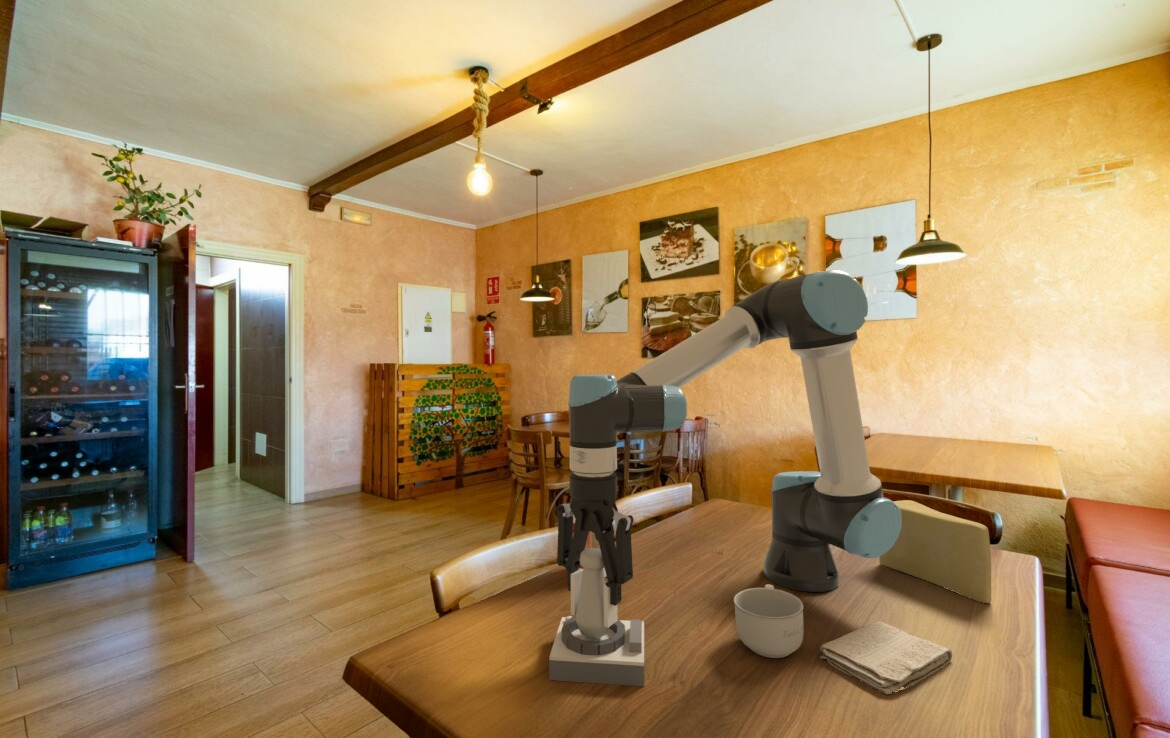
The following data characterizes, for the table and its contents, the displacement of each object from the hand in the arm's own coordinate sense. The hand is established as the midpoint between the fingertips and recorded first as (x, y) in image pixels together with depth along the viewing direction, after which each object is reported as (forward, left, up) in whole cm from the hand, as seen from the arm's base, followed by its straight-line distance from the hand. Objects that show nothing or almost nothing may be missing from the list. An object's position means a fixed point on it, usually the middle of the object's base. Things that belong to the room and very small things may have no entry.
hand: (593, 617), depth 82 cm
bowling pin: (0, 0, -3) cm, 3 cm away
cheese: (-70, -37, -7) cm, 80 cm away
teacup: (-29, -8, -7) cm, 31 cm away
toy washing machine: (-1, 0, -7) cm, 7 cm away
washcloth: (-46, -5, -8) cm, 47 cm away
